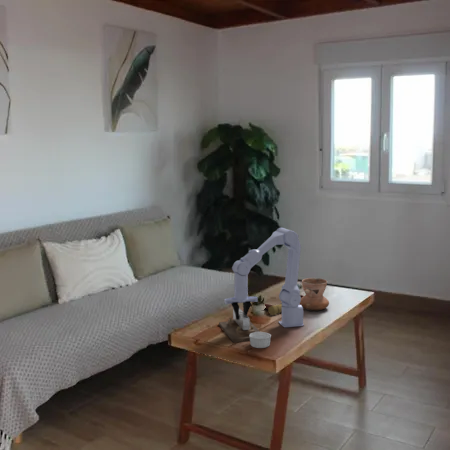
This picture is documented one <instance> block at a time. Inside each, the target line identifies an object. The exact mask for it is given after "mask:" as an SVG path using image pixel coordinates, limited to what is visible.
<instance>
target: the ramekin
mask: <svg viewBox="0 0 450 450" xmlns="http://www.w3.org/2000/svg"><path fill="white" fill-rule="evenodd" d="M249 337H250V341H249V342H250V343H249V344H250V346H251V347H253V348H256V349H264V348H265V349H266V348H268V347H270V345H271V338H272V334H271V333H268V332H265V331H260V332H253V333H251V334H250V335H249Z"/></svg>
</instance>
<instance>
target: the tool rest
mask: <svg viewBox="0 0 450 450" xmlns="http://www.w3.org/2000/svg"><path fill="white" fill-rule="evenodd" d="M218 325H219V327H220V328H221V330H222V331H223V332H224V333H225V335H227V337H228V338H229V339H230V341H231V342H232V343H240V342H250V337H249V335H250V334H251V333H253V332H261V331H260V330H259V329H258V328H257V327H256V326H255V325H254V324H253V323H252V322H251V320H249V330H243V329H242V328H241V327H240V326H239V325H238V324H237V323H236V322H235V320H234V319H233V317H229V318H228V319H227V321H219V322H218Z"/></svg>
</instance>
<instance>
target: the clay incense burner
mask: <svg viewBox="0 0 450 450" xmlns="http://www.w3.org/2000/svg"><path fill="white" fill-rule="evenodd" d="M301 284H302V288H303V291H304V293H305V295H303V296H302V297H301V301H300V304H299V305H302V307H303V310H304V309H305V310H308V311H312V312H313V311H323V310H325V309H327V308H328V307H329V305H330V302H329V299H327V297H325V296H324V293H325V291H326V289H327V286H328V285H327V284H328V281H327V280H326V279H324V278H320V277H307V278H304V279H302V280H301Z"/></svg>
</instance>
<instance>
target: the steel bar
mask: <svg viewBox="0 0 450 450" xmlns="http://www.w3.org/2000/svg"><path fill="white" fill-rule="evenodd" d="M232 311H233V312H232V319H234V320H235V322H236V323H237V324H238V325H239V326H240V327H241V328H242V329H243V330H249V321H250V317H249V316H248V314H247V315H246V314H245V313H244V312H243V310H242V309H241V308H240V307H239V320H237V319H236V315H235V312H234V309H233V308H232Z"/></svg>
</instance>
